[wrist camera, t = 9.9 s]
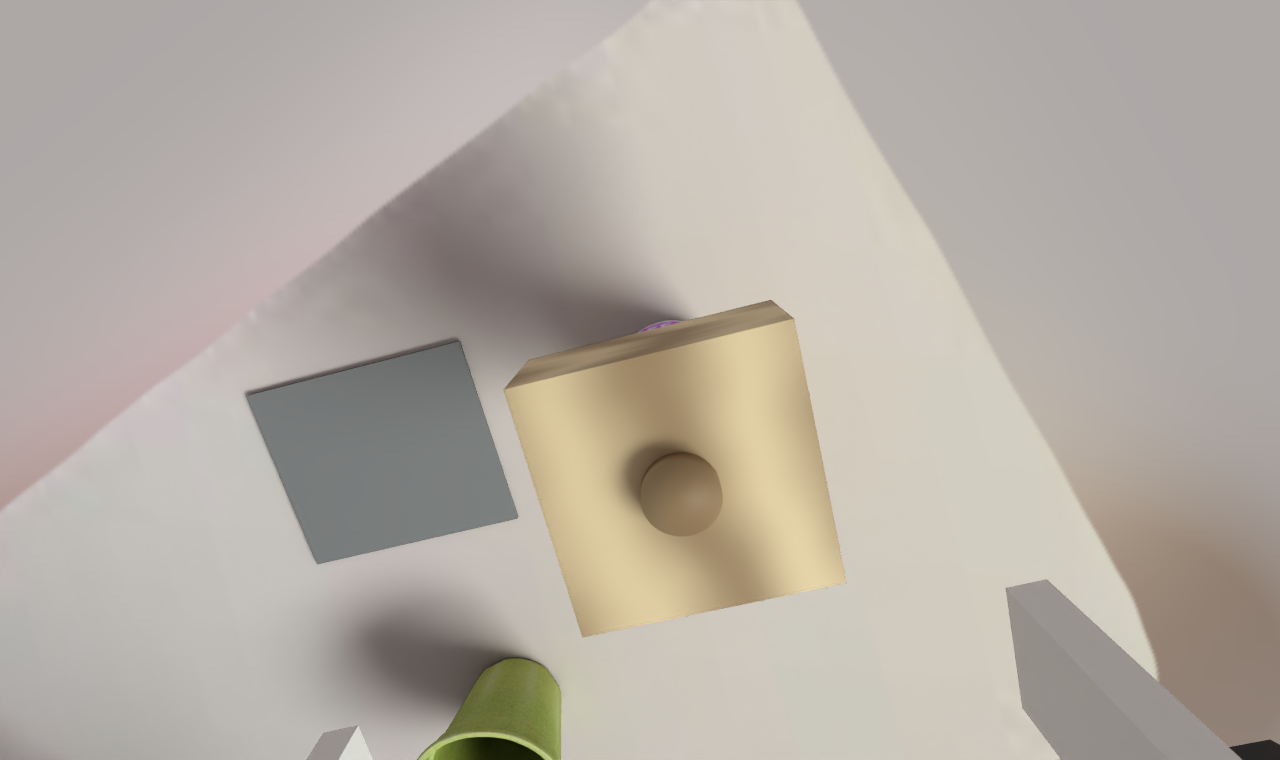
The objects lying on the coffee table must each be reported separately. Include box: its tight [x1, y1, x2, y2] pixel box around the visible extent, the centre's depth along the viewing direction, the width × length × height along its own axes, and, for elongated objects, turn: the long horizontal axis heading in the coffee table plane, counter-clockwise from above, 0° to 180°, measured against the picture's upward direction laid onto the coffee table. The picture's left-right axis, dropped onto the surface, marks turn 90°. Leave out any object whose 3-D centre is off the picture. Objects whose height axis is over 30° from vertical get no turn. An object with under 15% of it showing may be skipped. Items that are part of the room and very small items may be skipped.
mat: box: [246, 341, 518, 564], centre depth 41 cm, size 14×12×1 cm
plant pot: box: [417, 658, 561, 760], centre depth 42 cm, size 9×9×9 cm
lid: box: [504, 300, 847, 637], centre depth 25 cm, size 10×10×5 cm
